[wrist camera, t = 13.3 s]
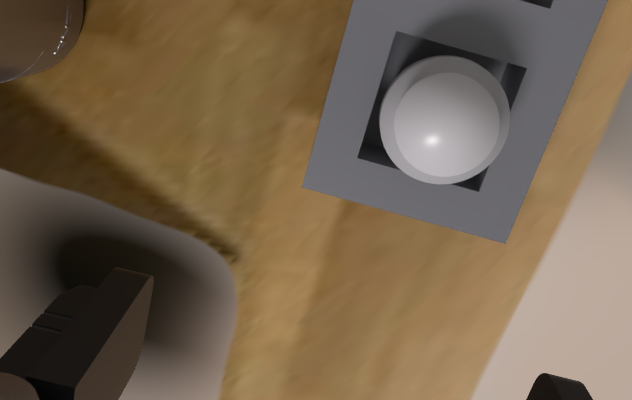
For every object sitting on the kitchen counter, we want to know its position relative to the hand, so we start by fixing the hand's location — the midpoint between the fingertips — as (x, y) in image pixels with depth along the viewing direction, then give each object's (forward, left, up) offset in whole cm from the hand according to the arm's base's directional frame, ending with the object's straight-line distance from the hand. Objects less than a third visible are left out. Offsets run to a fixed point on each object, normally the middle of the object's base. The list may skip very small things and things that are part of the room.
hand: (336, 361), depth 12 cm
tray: (+4, +7, -27) cm, 28 cm away
